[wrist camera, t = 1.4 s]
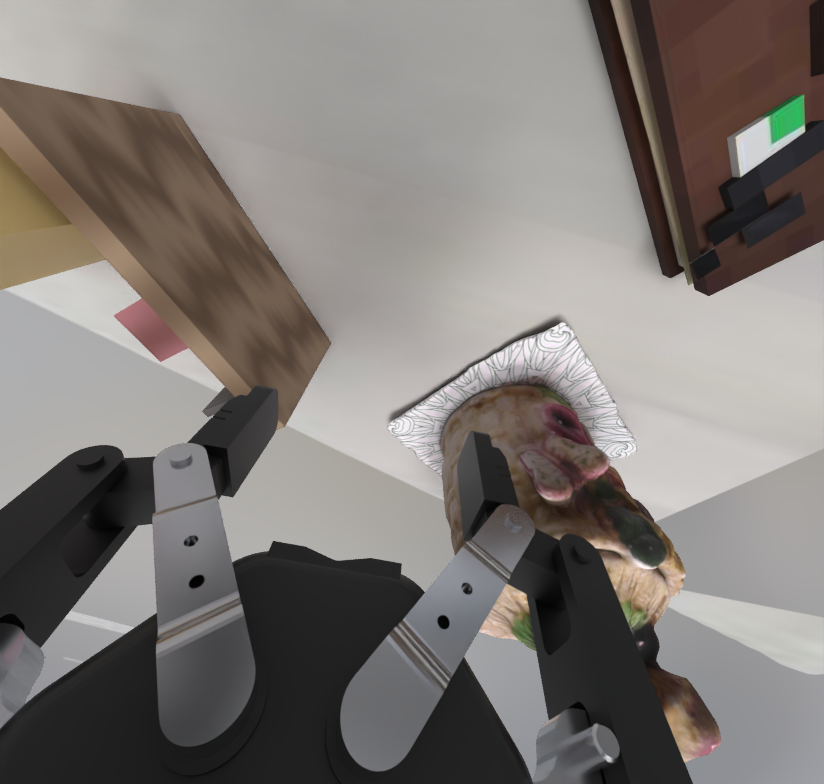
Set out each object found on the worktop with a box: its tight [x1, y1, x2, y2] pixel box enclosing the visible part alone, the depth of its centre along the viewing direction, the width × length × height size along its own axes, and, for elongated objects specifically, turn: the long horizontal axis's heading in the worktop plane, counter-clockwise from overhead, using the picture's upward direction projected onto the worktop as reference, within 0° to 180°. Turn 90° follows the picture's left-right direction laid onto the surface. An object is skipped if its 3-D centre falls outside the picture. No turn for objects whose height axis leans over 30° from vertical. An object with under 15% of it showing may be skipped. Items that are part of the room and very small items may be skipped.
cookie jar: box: [388, 322, 721, 763], centre depth 30 cm, size 25×25×32 cm
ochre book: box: [0, 147, 106, 290], centre depth 22 cm, size 4×10×16 cm, turn 115°
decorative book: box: [588, 0, 824, 296], centre depth 20 cm, size 19×8×30 cm
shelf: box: [0, 78, 331, 430], centre depth 27 cm, size 22×14×14 cm, turn 25°
